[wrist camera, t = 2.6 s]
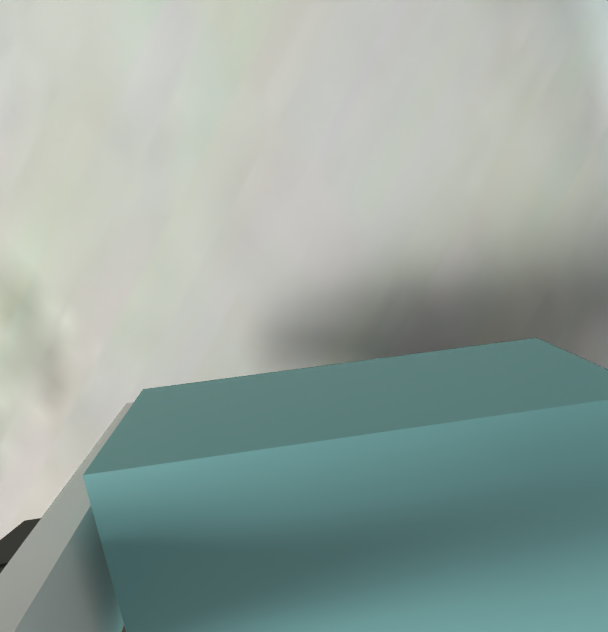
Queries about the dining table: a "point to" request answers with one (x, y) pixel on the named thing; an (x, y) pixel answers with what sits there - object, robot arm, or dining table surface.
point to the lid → (365, 497)
